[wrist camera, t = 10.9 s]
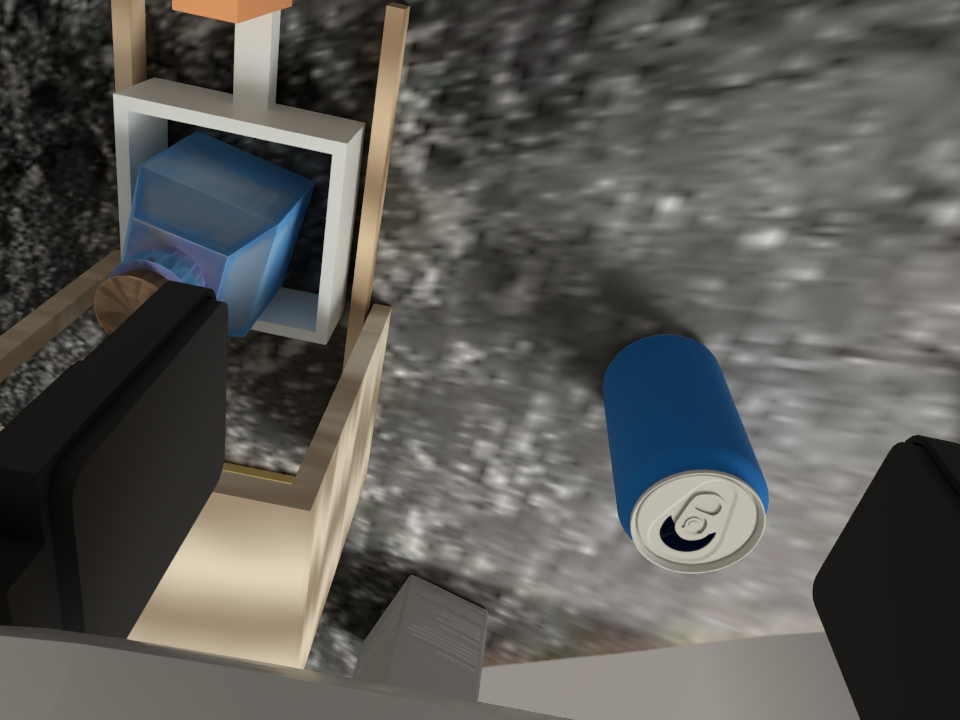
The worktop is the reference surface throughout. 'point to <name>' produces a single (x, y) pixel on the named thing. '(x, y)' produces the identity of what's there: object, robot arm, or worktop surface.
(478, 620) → the skincare box
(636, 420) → the beverage can
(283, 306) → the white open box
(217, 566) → the tunnel
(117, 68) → the track
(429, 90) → the worktop surface
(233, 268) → the perfume bottle
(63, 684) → the robot arm
